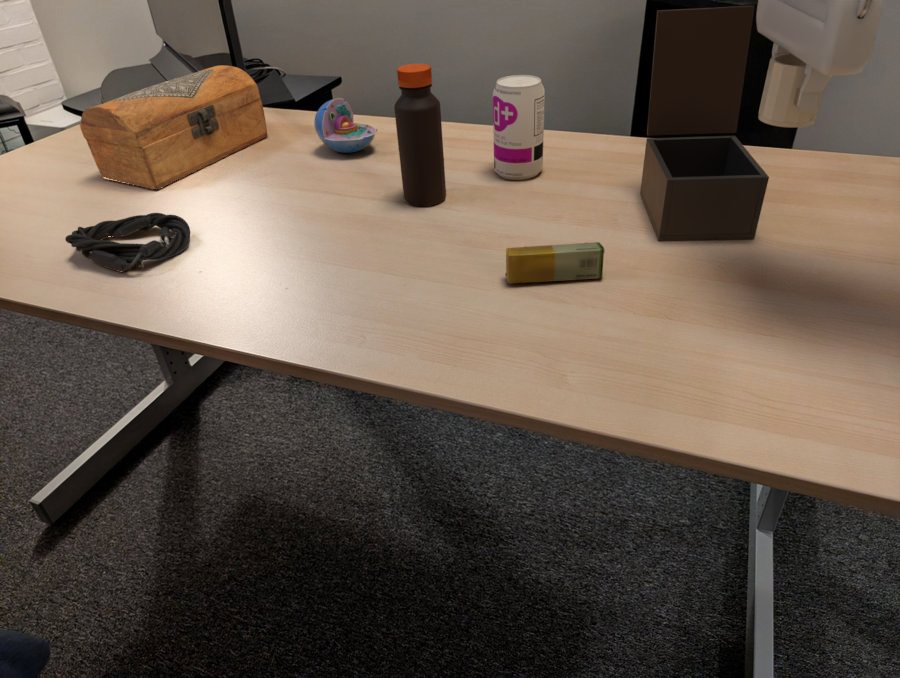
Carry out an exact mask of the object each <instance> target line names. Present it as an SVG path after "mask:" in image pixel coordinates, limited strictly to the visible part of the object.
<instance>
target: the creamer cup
mask: <svg viewBox="0 0 900 678" xmlns="http://www.w3.org/2000/svg"><path fill="white" fill-rule="evenodd" d="M805 69H806V63H805V62H803V61H802V60H800V59H799V58H797V57H796V56H794V55H793V54H791V53H787V54H779V55H776V56H773V57H772V56H771V58H770V59H769V63H768V68H767V72H766V77H765V82H764V87H763V90H762V95H761V100H760V104H759V110H758V115H757V118H758V120H759V121H760V122H762V123H763V124H767V125H770V126H773V127H778V128H779V127H780V128H803V127H804V128H805V127H809V126H812V125H814V124H815V122H816V121H817V116H818V114H819V110H820V106H821V102H822V99H823V95H824V92H825V88H824V89H823V91H822V92H821V94H820V98H819V102H818V105H817V107H816V108H815V109H814V110H806V111H801V110H800V109H798V108H797V107H796V106H795V105H794V99H795V95H796V91H797V89H801V87H802V84H803V82H804V80H805V78H806V74H805Z"/></svg>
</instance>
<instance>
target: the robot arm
mask: <svg viewBox="0 0 900 678" xmlns="http://www.w3.org/2000/svg"><path fill="white" fill-rule="evenodd" d="M883 4H884V0H757V6H756V14H755V21H756V30H757V32H758V34H760V35H762V36H764V37H765V38H767V39H768V40H769V41H771V42H773V45H772V49H771V58H772V57H773V56H776V55H779V54H787V53H791V54H793V55H794V56H796V57H797V58H799V59H800V60H802V61H803V62H805V63H806V69H805V74H806V78H805V80H804V82H803V84H802V87H801V89H797V91H796V95H795V99H794V105H795V106H796V107H797V108H798V109H800V110H801V111H806V110H814V109H815V108H816V107H817V105H818V102H819V98H820V94H821V92H822V91H823V89H824V90H825V89H826V87H827V86H828V84H829V82H830V81H831V79H832V78H833V76H848V75H849V76H851V75H857V74H859V75H860V73H862V72H863V70H864V69H865V67H866V66H867V65H868V64H869V61H870V60H871V56H872V53H873V49H874V45H875V40H876V37H877V33H878V28H879V24H880V20H881V16H882V15H881V14H882V10H883Z"/></svg>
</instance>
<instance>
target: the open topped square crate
mask: <svg viewBox="0 0 900 678" xmlns="http://www.w3.org/2000/svg"><path fill="white" fill-rule="evenodd" d="M769 180H770V176H769V175H768V174H767V173H766V171H765V170H764V169H763V168H762V166H761V165H760V164H759V163H758V162H757V160H756V159H755V158H754V157H753V156H752V154H751V153H750V151H748V150H747V148H745V145H744V144H743V143H742V142H741V141H740V140H739V139H738V137H737V135H708V136H707V135H706V136H703V135H702V136H674V137H647V138H646V142H645V150H644V157H643V166H642V173H641V183H640V191H639V195H640V198H641V200H642V203H643V205H644V208H645V210H646V213H647V214H648V217H649V220H650V222H651V225H652V228H653V231H654V233H655V235H656V239H657V240H658V242H666V241H667V242H669V241H670V242H672V241H721V240H722V241H723V240H724V241H725V240H726V241H727V240H755V238H756V233H757V229H758V224H759V221H760V217H761V213H762V209H763V206H764V205H763V204H764V200H765V196H766V191H767V188H768V185H769Z"/></svg>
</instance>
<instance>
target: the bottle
mask: <svg viewBox="0 0 900 678" xmlns="http://www.w3.org/2000/svg"><path fill="white" fill-rule="evenodd" d="M396 74H397V76H396V77H397V85H398V89H399V90H400V92H401V95H400V96H399V98H397V100H396V101H395V103H394V106H393V108H394V117H395V118H394V119H395V126H396V127H395V128H396V136H397V145H398V156H399V164H400V173H401V180H402V181H401V183H402V184H401V185H402V193H403V199H404V201H405V203H407V204H408V205H410V206H413V207H432V206H436V205H438V204H440V203H442V202H443V201H444V200H445V199H446V196H447V185H446V172H445V171H446V170H445V158H444V155H445V154H444V141H443V140H444V139H443V128H442V111H441V102H440V100H439V99H438V98H437V97H436V96H435V95H434V93H432V92H431V91H432V90H431V88H432V86H433V74H432V66H431V65H429V64H427V63H408V64H404V65H400V66H399V67H397V68H396Z"/></svg>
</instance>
